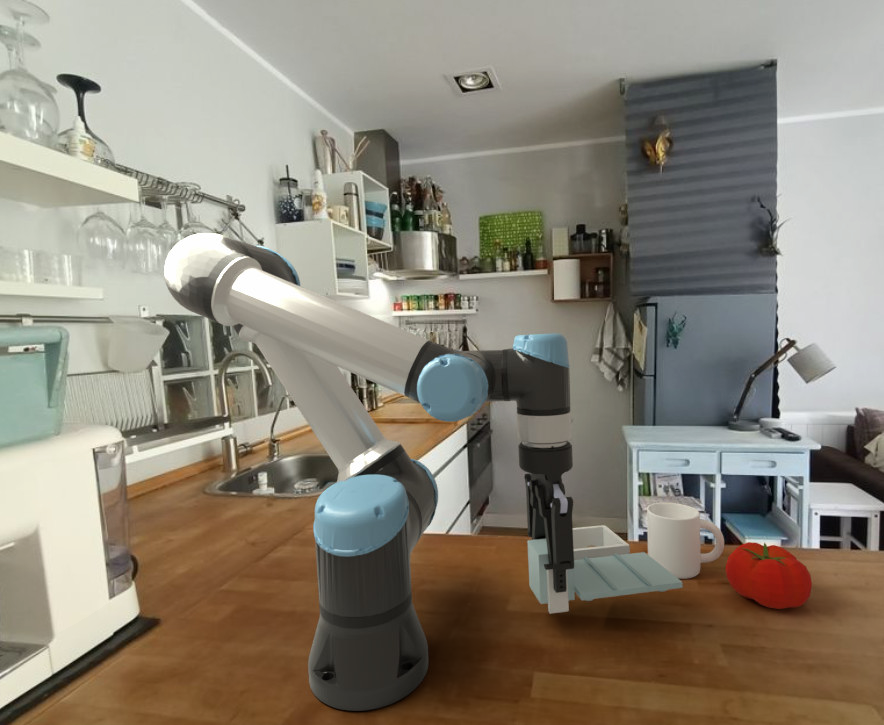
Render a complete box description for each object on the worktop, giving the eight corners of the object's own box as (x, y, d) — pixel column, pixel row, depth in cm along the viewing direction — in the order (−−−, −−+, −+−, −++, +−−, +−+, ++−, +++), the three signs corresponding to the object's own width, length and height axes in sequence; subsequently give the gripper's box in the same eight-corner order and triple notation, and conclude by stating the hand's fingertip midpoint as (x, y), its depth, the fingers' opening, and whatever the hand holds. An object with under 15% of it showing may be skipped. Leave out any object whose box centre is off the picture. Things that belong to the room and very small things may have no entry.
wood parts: (609, 573, 83) (608, 556, 83) (579, 576, 82) (579, 559, 82) (596, 560, 88) (595, 543, 88) (568, 563, 87) (567, 546, 87)
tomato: (725, 576, 82) (725, 532, 81) (807, 590, 76) (806, 544, 76) (725, 607, 73) (724, 558, 72) (817, 627, 67) (817, 574, 67)
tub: (630, 580, 82) (629, 545, 81) (550, 589, 80) (548, 553, 80) (605, 556, 91) (604, 525, 90) (532, 564, 89) (531, 532, 88)
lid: (682, 596, 68) (681, 547, 68) (546, 613, 66) (544, 562, 65) (644, 564, 78) (643, 521, 78) (524, 578, 75) (522, 534, 75)
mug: (718, 562, 87) (718, 505, 86) (731, 585, 79) (730, 522, 78) (646, 555, 90) (644, 501, 90) (650, 577, 82) (649, 517, 82)
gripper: (597, 453, 61) (604, 633, 62) (548, 428, 79) (553, 568, 80) (540, 458, 60) (547, 641, 61) (503, 432, 78) (509, 573, 79)
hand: (551, 599), depth 71 cm, fingers closed on lid, 5 cm apart
